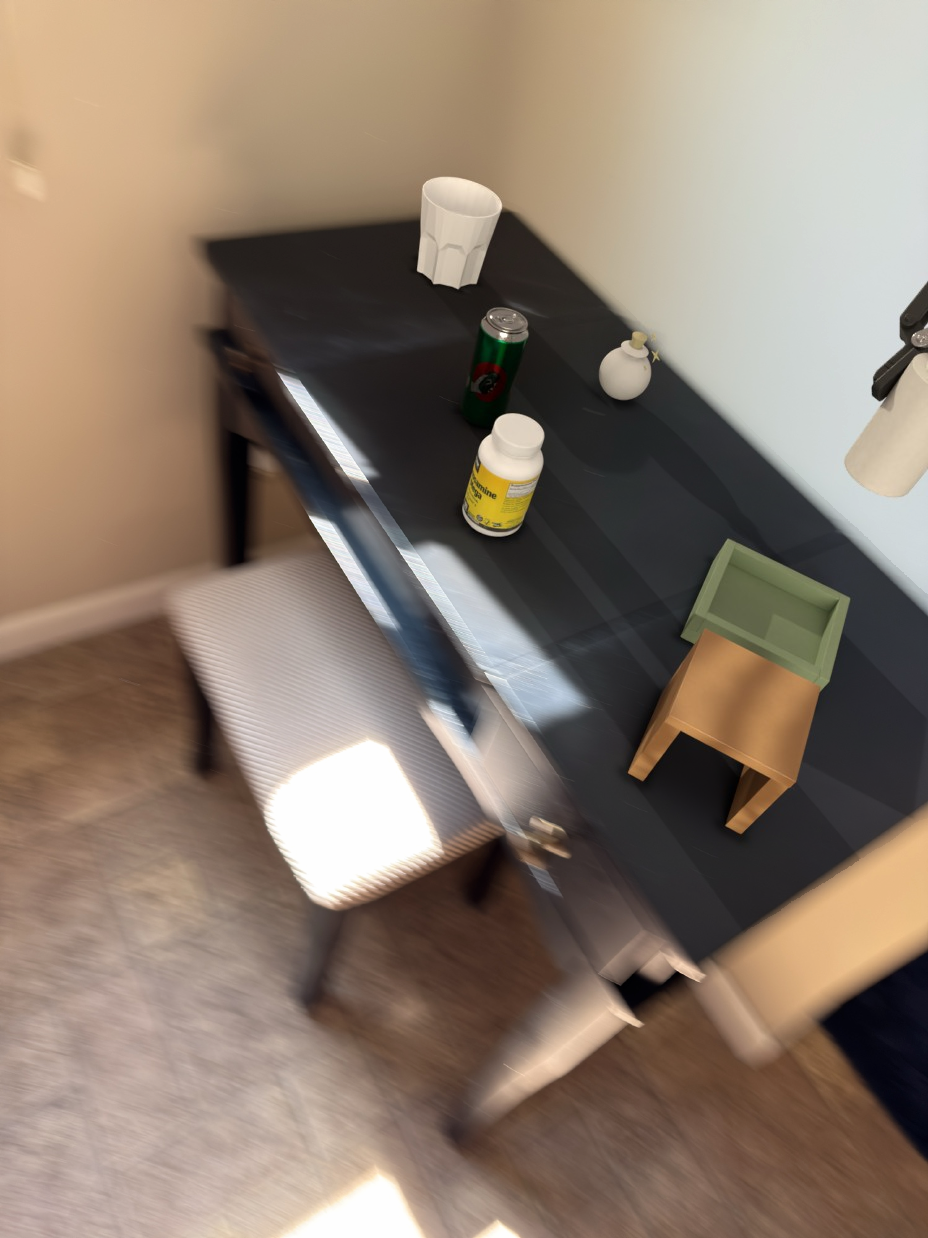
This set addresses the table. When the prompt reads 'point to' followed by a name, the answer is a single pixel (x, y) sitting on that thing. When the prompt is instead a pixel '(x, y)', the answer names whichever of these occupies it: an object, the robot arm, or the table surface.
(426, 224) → the cup
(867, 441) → the white bottle
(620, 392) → the round potion bottle
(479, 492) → the pill bottle
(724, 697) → the wooden stand
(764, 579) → the sage green tray
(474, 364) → the soda can
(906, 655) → the table surface
